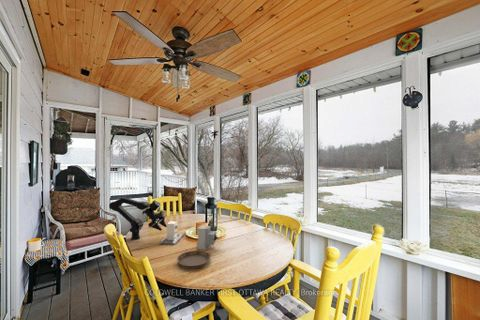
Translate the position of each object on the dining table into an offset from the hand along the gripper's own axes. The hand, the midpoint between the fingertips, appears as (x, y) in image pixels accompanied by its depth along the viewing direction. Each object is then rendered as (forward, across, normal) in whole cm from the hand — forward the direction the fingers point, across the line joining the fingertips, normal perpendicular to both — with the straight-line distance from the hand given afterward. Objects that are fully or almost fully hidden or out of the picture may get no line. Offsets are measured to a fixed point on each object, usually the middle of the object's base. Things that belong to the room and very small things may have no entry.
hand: (164, 228), depth 175 cm
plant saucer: (+32, -36, -19) cm, 52 cm away
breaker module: (+10, 0, +1) cm, 11 cm away
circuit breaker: (+34, -12, -22) cm, 42 cm away
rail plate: (+11, 0, +1) cm, 11 cm away
